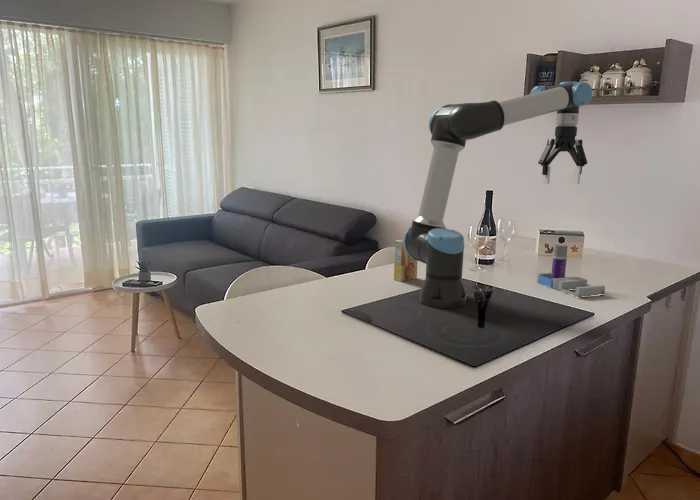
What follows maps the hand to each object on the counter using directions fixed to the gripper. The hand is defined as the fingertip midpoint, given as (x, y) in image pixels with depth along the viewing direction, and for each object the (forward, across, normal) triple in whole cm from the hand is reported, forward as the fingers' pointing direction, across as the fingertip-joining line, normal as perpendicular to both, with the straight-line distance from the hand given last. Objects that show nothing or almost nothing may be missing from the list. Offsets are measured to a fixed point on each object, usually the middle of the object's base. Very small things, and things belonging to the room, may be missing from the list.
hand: (561, 183), depth 200 cm
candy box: (+37, -56, +14) cm, 69 cm away
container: (+37, -4, -8) cm, 38 cm away
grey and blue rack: (+37, -4, -14) cm, 39 cm away
